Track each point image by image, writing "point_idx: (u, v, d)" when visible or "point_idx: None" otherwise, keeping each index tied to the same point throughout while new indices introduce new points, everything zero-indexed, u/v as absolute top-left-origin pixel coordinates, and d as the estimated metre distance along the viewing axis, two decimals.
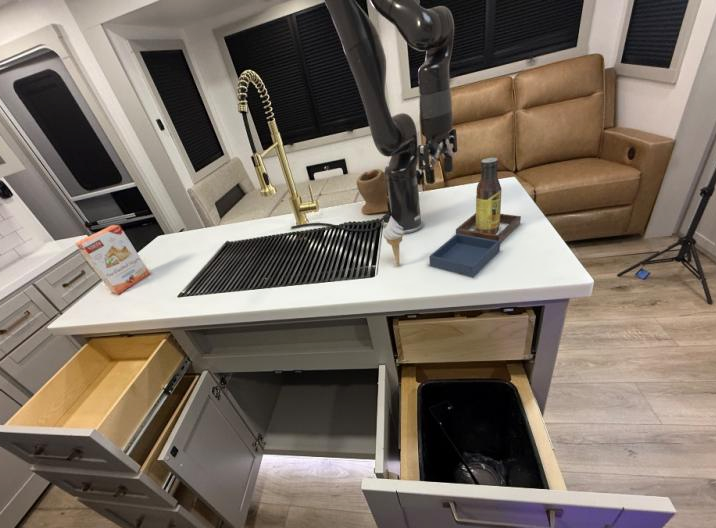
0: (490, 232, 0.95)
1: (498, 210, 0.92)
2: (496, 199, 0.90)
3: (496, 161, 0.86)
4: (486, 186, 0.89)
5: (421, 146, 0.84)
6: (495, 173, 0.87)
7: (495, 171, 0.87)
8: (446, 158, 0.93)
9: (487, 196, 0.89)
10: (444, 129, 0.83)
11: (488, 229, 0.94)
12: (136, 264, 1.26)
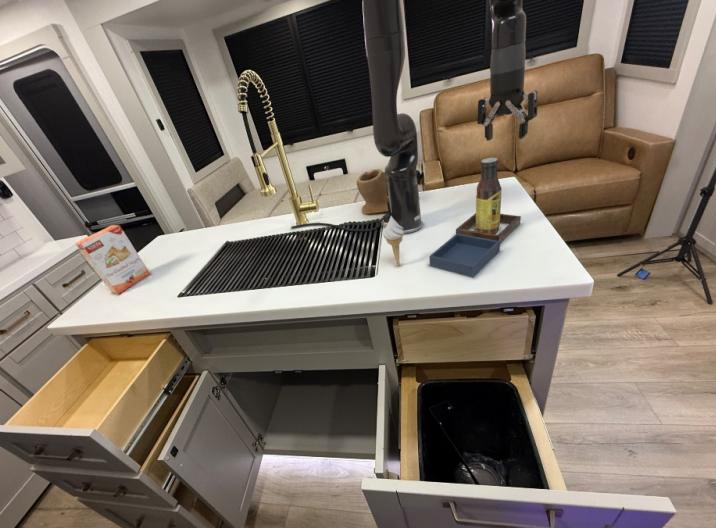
0: (490, 232, 0.95)
1: (498, 210, 0.92)
2: (496, 199, 0.90)
3: (496, 161, 0.86)
4: (486, 186, 0.89)
5: None
6: (495, 173, 0.87)
7: (495, 171, 0.87)
8: None
9: (487, 196, 0.89)
10: (493, 90, 0.84)
11: (488, 229, 0.94)
12: (136, 264, 1.26)
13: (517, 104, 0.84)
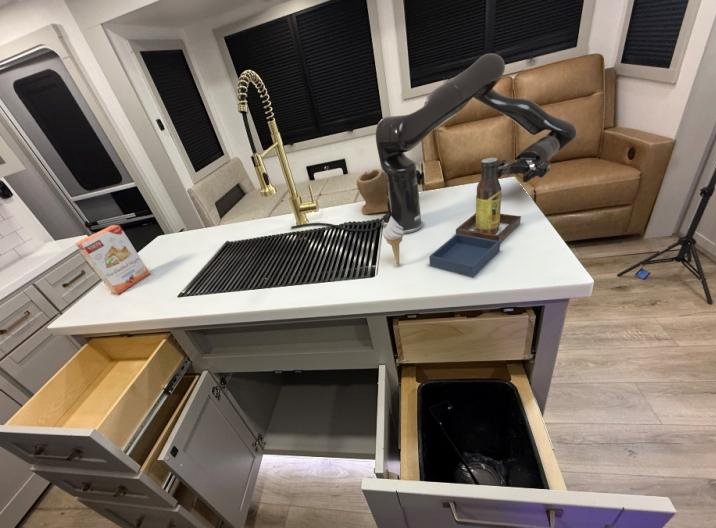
0: (490, 232, 0.95)
1: (498, 210, 0.92)
2: (496, 199, 0.90)
3: (496, 161, 0.86)
4: (486, 186, 0.89)
5: None
6: (495, 173, 0.87)
7: (495, 171, 0.87)
8: None
9: (487, 196, 0.89)
10: (524, 150, 1.01)
11: (488, 229, 0.94)
12: (136, 264, 1.26)
13: (533, 164, 0.97)
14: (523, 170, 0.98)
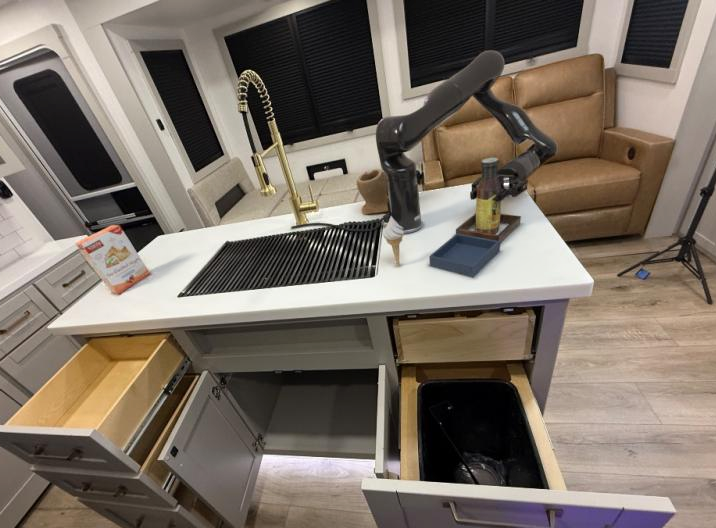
0: (490, 232, 0.95)
1: (498, 210, 0.92)
2: None
3: (496, 161, 0.86)
4: (486, 186, 0.88)
5: None
6: (495, 173, 0.87)
7: (495, 171, 0.87)
8: None
9: (488, 196, 0.89)
10: None
11: (488, 229, 0.94)
12: (136, 264, 1.26)
13: (511, 182, 0.92)
14: None
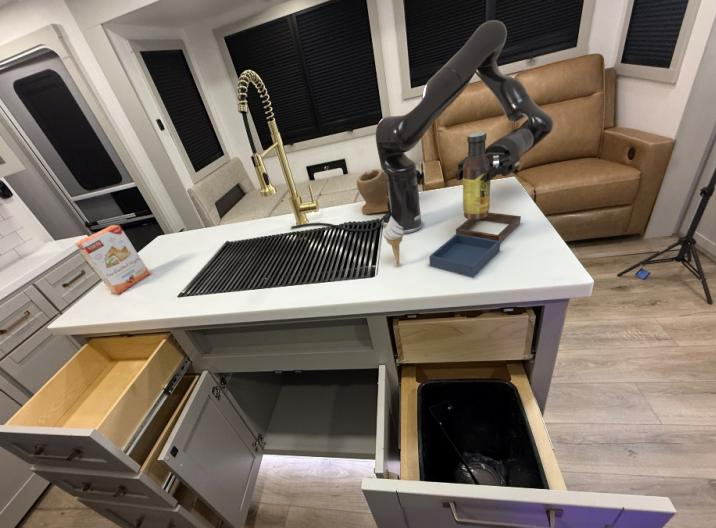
0: (479, 217, 0.85)
1: (487, 192, 0.82)
2: None
3: (484, 135, 0.76)
4: (473, 163, 0.79)
5: None
6: (483, 149, 0.78)
7: (483, 147, 0.77)
8: None
9: (475, 176, 0.80)
10: (491, 144, 0.86)
11: (476, 213, 0.85)
12: (136, 264, 1.26)
13: (501, 160, 0.82)
14: None
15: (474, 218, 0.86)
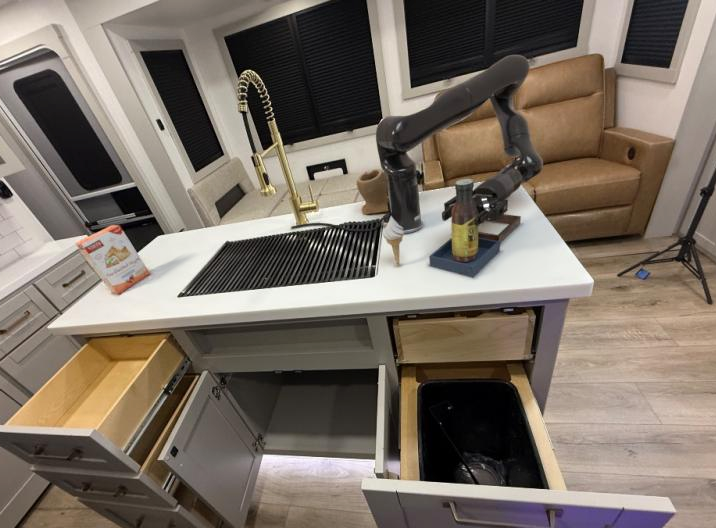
0: (467, 259, 0.86)
1: (475, 236, 0.83)
2: (473, 224, 0.81)
3: (471, 183, 0.77)
4: (461, 210, 0.79)
5: None
6: (471, 196, 0.78)
7: (470, 194, 0.78)
8: None
9: (463, 221, 0.80)
10: (479, 185, 0.86)
11: (465, 256, 0.85)
12: (136, 264, 1.26)
13: (489, 203, 0.82)
14: (477, 209, 0.83)
15: (463, 260, 0.86)
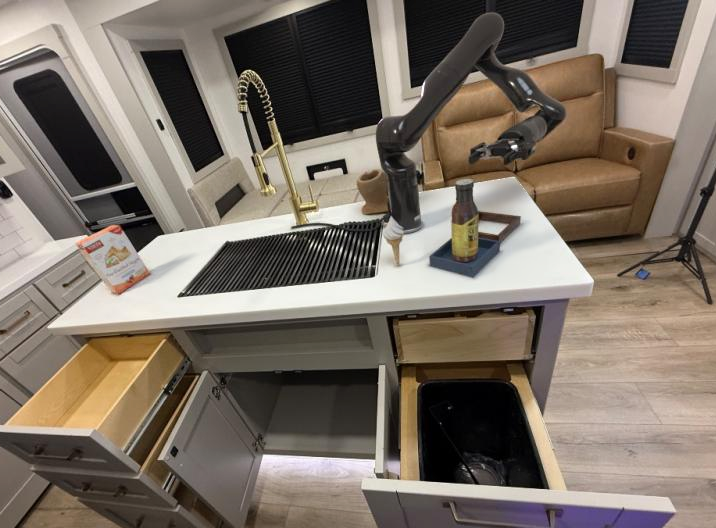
0: (467, 259, 0.86)
1: (475, 236, 0.83)
2: (473, 224, 0.81)
3: (471, 183, 0.77)
4: (461, 210, 0.79)
5: None
6: (471, 196, 0.78)
7: (470, 194, 0.78)
8: None
9: (463, 221, 0.80)
10: None
11: (465, 256, 0.85)
12: (136, 264, 1.26)
13: (516, 145, 0.83)
14: (504, 152, 0.84)
15: (463, 260, 0.86)
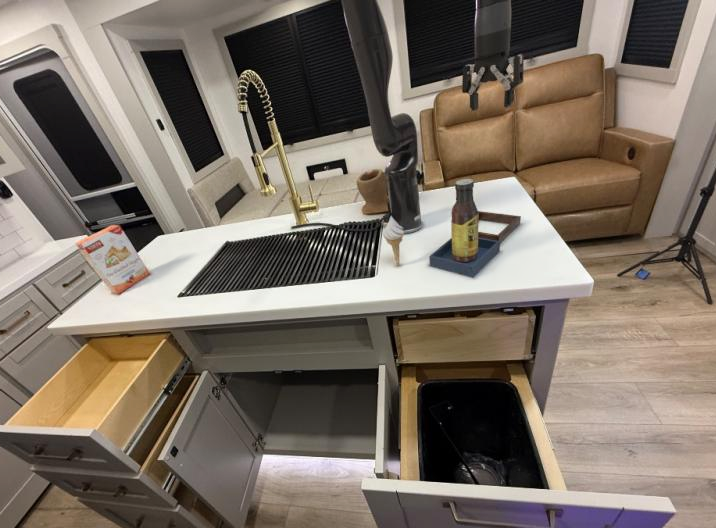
0: (467, 259, 0.86)
1: (475, 236, 0.83)
2: (473, 224, 0.81)
3: (471, 183, 0.77)
4: (461, 210, 0.79)
5: None
6: (471, 196, 0.78)
7: (470, 194, 0.78)
8: None
9: (463, 221, 0.80)
10: (477, 54, 0.80)
11: (465, 256, 0.85)
12: (136, 264, 1.26)
13: (502, 69, 0.80)
14: (496, 79, 0.83)
15: (463, 260, 0.86)
